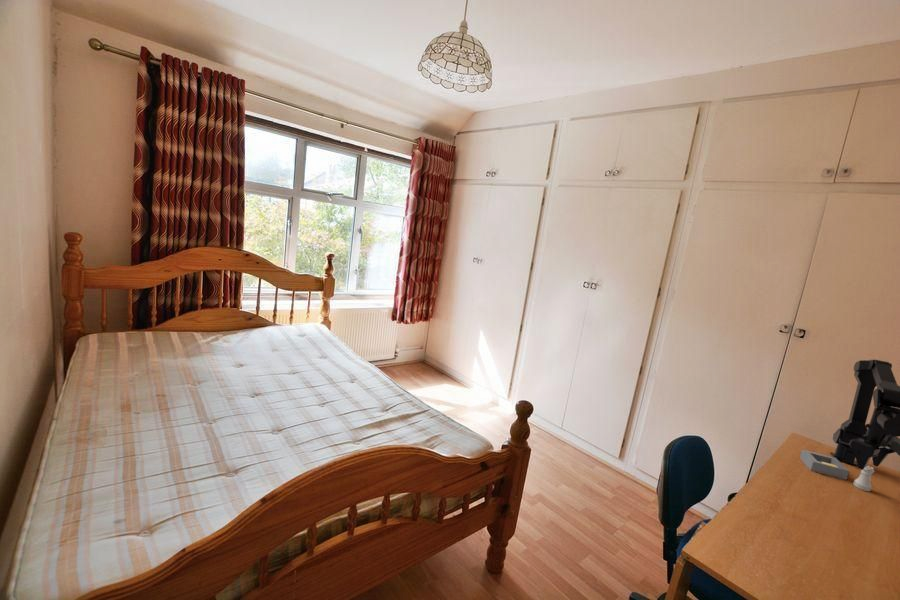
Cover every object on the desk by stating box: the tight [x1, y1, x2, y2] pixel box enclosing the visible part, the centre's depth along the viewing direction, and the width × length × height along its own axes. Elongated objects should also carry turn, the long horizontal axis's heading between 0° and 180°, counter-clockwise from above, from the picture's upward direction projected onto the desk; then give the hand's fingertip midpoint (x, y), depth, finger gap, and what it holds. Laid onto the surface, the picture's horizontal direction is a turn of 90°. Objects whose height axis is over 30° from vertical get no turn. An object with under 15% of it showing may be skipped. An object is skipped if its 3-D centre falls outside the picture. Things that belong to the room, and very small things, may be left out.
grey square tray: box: [799, 448, 850, 481], centre depth 146 cm, size 10×10×4 cm
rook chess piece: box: [852, 464, 876, 492], centre depth 136 cm, size 4×4×8 cm
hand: (868, 467), depth 135 cm, fingers open, 9 cm apart
